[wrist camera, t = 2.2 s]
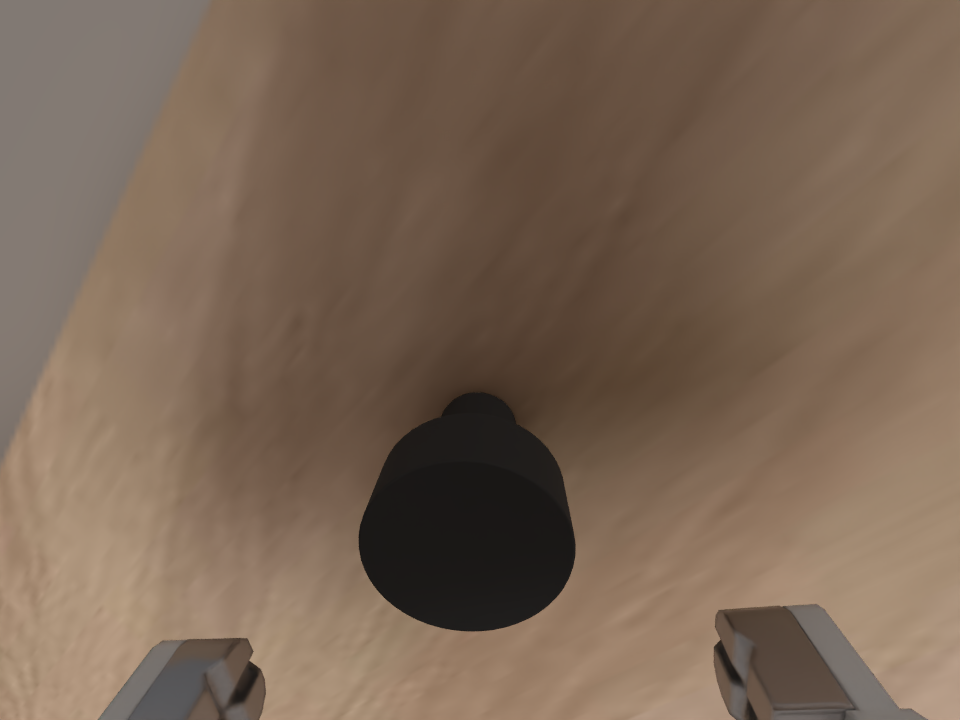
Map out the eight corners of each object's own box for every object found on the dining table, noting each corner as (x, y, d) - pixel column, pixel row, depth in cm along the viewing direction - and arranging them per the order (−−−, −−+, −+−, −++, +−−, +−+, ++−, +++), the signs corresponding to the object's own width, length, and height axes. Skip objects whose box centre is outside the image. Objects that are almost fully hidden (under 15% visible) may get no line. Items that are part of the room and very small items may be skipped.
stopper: (387, 456, 16) (332, 592, 11) (436, 335, 14) (399, 426, 9) (514, 504, 16) (519, 656, 11) (575, 392, 15) (616, 509, 10)
